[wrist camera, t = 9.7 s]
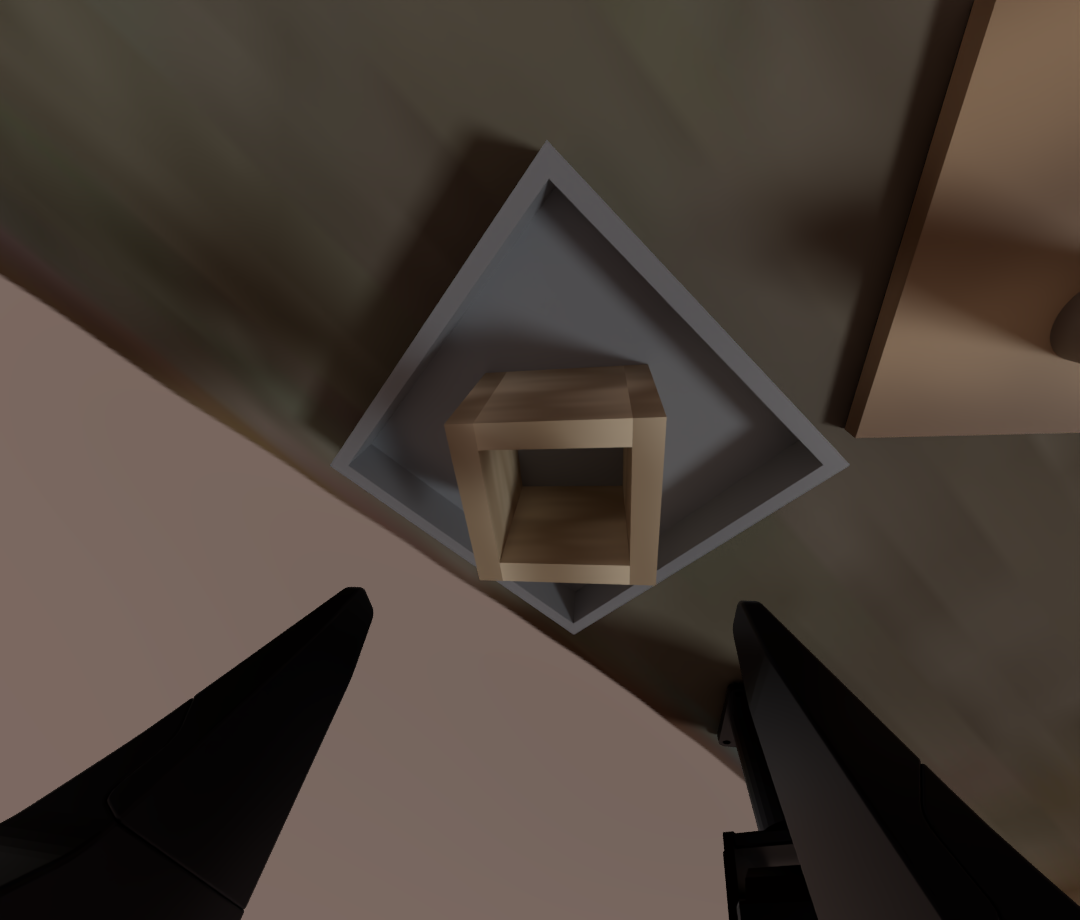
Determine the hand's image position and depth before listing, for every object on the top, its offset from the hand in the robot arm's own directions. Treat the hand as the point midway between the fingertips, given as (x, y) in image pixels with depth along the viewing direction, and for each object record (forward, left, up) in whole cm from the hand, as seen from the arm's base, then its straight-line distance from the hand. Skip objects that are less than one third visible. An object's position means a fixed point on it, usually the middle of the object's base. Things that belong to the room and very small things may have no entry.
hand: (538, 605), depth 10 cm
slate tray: (0, 0, -9) cm, 9 cm away
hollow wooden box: (0, 0, -9) cm, 9 cm away
